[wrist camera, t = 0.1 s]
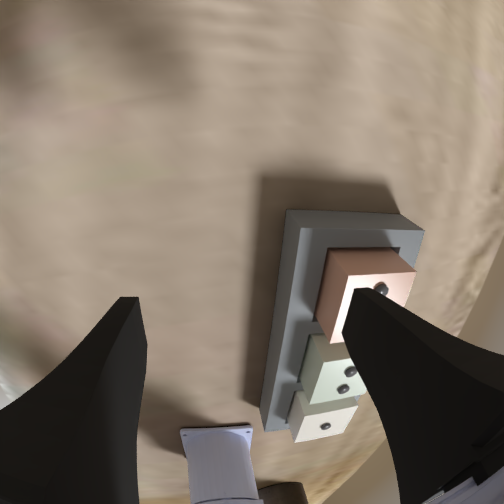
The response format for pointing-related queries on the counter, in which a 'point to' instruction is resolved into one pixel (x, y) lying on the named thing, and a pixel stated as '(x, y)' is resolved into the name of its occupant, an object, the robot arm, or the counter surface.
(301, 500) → the pillar candle
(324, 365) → the tile
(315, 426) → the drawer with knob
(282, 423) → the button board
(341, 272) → the three-pip tile
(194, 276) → the counter surface
